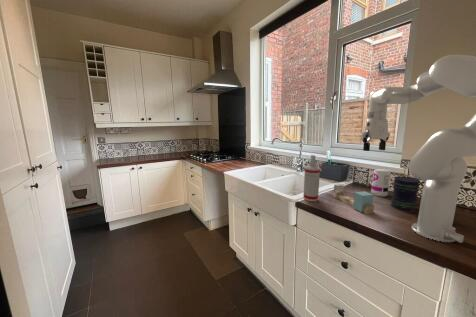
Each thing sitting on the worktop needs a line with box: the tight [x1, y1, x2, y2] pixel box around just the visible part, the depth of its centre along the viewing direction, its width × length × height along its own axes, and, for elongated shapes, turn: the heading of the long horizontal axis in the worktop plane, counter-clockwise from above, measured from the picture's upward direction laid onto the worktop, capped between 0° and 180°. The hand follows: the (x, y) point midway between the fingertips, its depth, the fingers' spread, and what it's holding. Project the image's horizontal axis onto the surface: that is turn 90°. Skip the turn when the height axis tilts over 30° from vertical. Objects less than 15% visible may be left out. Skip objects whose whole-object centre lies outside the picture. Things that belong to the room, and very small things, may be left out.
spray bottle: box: [302, 154, 321, 202], centre depth 114 cm, size 8×8×25 cm
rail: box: [332, 183, 375, 215], centre depth 107 cm, size 23×4×8 cm, turn 13°
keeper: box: [352, 190, 374, 213], centre depth 101 cm, size 5×6×8 cm
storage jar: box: [390, 175, 420, 213], centre depth 103 cm, size 10×10×15 cm
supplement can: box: [370, 168, 391, 197], centre depth 121 cm, size 8×8×15 cm
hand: (374, 150), depth 105 cm, fingers open, 9 cm apart
